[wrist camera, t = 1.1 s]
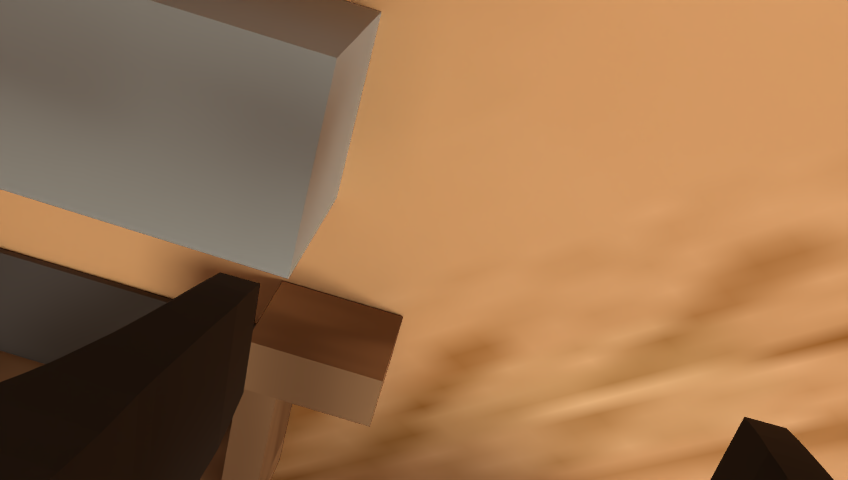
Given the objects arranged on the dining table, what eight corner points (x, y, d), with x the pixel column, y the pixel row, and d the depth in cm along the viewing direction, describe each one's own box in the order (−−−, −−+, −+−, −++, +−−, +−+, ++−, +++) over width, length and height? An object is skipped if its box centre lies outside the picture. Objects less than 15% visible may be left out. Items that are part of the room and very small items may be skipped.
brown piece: (547, -184, 17) (545, -187, 13) (355, 482, 26) (326, 574, 22) (-250, -414, 17) (-437, -471, 14) (-162, 327, 26) (-263, 396, 23)
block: (382, 10, 19) (336, 57, 15) (337, 195, 21) (288, 279, 17) (99, -78, 19) (-21, -53, 15) (85, 117, 21) (-23, 182, 17)
